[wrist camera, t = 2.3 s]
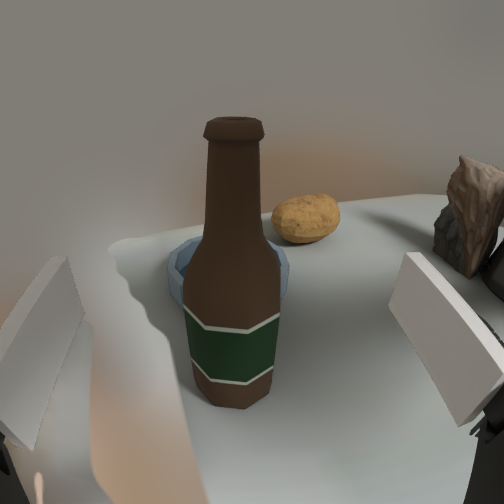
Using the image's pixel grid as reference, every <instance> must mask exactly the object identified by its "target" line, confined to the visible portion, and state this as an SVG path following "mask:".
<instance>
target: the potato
mask: <svg viewBox="0 0 504 504" xmlns="http://www.w3.org/2000/svg"><path fill="white" fill-rule="evenodd" d="M271 220H272V224H273V227H274V230H275V231H276V232H277V233H279V234H280V235H281V236H282V237H283V238H285V239H286V240H287V241H290V242H292V243H309V242H314V241H317V240H320V239H323V238H324V237H326V236H327V235H329V234H330V233H332V232H333V231H335V229H336V228H337V226H338V223H339V221H340V211H339V208H338V205H337V203H336V201H335V200H334V199H333V198H331V197H330V196H328V195H325V194H314V195H302V196H296V197H293V198H290V199H289V200H287V201H284V202H282V203H280V204H279V205H278V206H276V208H275V209H274V211H273V213H272V217H271Z"/></svg>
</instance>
